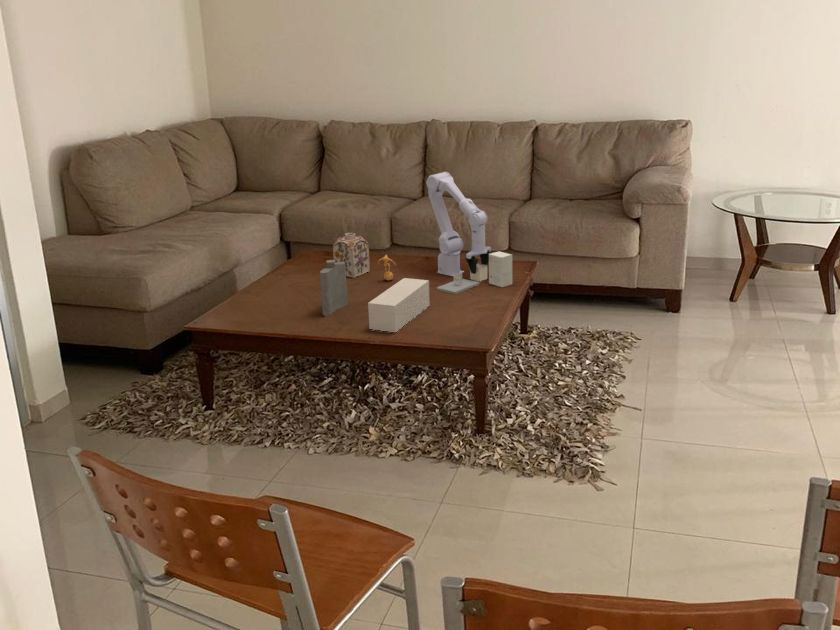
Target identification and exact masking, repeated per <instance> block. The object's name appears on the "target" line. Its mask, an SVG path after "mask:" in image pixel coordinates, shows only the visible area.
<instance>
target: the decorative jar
mask: <svg viewBox="0 0 840 630" xmlns="http://www.w3.org/2000/svg"><path fill="white" fill-rule="evenodd" d="M332 255H333V257H332V258H333V260H335V263H338V262H345V268H346V276H347V277H346V278H351V277H352V279H355V278H358V277H359V276H360V277H361V276H363V275H365V274H368V273H370V272H371V269H370V268H371V267H370V266H371V265H370V264H371V263H370V250H369V243H368V241H367V240H366V239H365V238H364V237H363V236H361V235H356V233H354V232H347V233H344V236H341V237H338V238H337V240H335V242H334V243H333V245H332ZM367 272H368V273H367ZM357 276H358V277H357Z"/></svg>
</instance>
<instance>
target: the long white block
mask: <svg viewBox="0 0 840 630" xmlns="http://www.w3.org/2000/svg"><path fill="white" fill-rule="evenodd" d="M428 306H429V307H431V306H430V280H429V279H428V280H427V279H417V278H410V277H409V278H407V277H404V278H401V280H399V281H398V282H395V284H393V285H392V286H390V287H389V288H387V289H386V290H385V291H383V292H382V293H380V294H379V295H378V296H376V297H375V298H373V299H372V300H370V301H369V302H367V307H368V309H367V310H368V328H369V329H373V330H372V331H374V330H381V331H380V332H382V331H389V332H388V333H390V332H397V331H398V330H399V329H401V328H402V327H403V326H404V325H405V324H407V323H408V322H409V321H410V322H412V321H413V320H414V319H415V318H417V317H418V316H419V315H421V314H422V313H423V312H424V311H425V310H427V309H428V308H429V307H428ZM427 307H428V308H427ZM423 310H424V311H423ZM422 311H423V312H422ZM418 314H419V315H418ZM417 315H418V316H417ZM416 316H417V317H416ZM413 318H414V319H413ZM412 319H413V320H412ZM411 320H412V321H411ZM410 322H409V323H410ZM409 323H408V324H409ZM408 324H407V325H408ZM405 326H406V325H405ZM405 326H404V327H405ZM404 327H403V328H404ZM403 328H402V329H403ZM402 329H401V330H402ZM399 331H400V330H399ZM399 331H398V332H399ZM398 332H397V333H398Z"/></svg>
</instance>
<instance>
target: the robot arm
mask: <svg viewBox="0 0 840 630" xmlns="http://www.w3.org/2000/svg"><path fill="white" fill-rule="evenodd" d="M425 185H426V187H427V189H428V190H427V194H428V199H429V201H430V203H431V208H432V209H433V213H434V216H435V220H436V222H437V225H438V229H439V231H440V236H439V238H438V242H439V251H440V253H439V254H438V256H437V271H436V273H437V274H441V275H445V276H449V277H454V273H457V272H459V273H462V274H463V273H465V270H461V253H462V252H461V251H462V250H463V248H464V242H463V239H462V238H461V237H460V234H459V232H457V231H455V230H454V228H453V225H452V222H451V219H450V216H449V213H448V210H447V207H446V204H445V201H444V198H443V195H444V192H448V193H449V194H450V196H451V197H453V199H454V200H455V201H456V202H457V203H458V204H459V206H458V207H459V209H460V210H461V212H462V213H463V214H464V216H466V217H467V219H468V224H469V225H470V230H471V250H470V251H469V252H467V253H466V254H465V259H464V260H465V261H466V262H467V265H468V268H469V272H470V271H471V273H473V274H476V266H477V263H478V262H479V258H478V257H477V256H479V257H480V262H481V263H480V264H483V265H487V267H489V254H491V253H492V247H491V246H486V224H487V223H488V221H489V217H488V214H487V213H486V211H484V210H481V209H480V208H479V207H478V206H477V205H476V204H475V203H474V202H473V200H472V199H471V198H466V197H465V196H464V194H463V193H462V191H461V190H460V189H459V187H458V186H457V185H456V183H455V181H454V177H453V176H452V175H451V173H449V172H448V171H442V172H439V173H434V174H431V175H429V176H428V177H427V179H426V181H425ZM476 257H477V258H476Z"/></svg>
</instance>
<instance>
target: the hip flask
mask: <svg viewBox="0 0 840 630" xmlns="http://www.w3.org/2000/svg"><path fill="white" fill-rule="evenodd" d="M325 263H326V267H324V268H323V269H321V270H320V271H319V279H320V294H321V295H320V297H321V309H322V316H323V315H330V314H331V313H332V312H334V311H335V310H337V309H339V308H341V307H343V308H345V307H347V306H348V305H349V303H348V288H347V285H348V284H347V277H346V268H345V262H338V263H335V260H334V259H329V260H328V259H327V260H326V262H325ZM346 305H347V306H346ZM344 306H345V307H344ZM341 309H342V308H341ZM339 310H340V309H339ZM337 311H338V310H337ZM335 312H336V311H335ZM335 312H334V313H335ZM330 316H331V315H330Z"/></svg>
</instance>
